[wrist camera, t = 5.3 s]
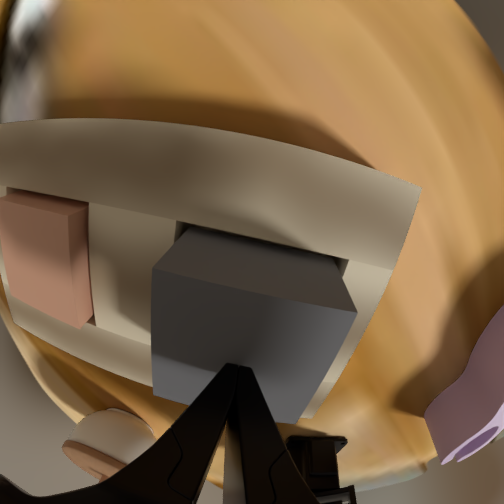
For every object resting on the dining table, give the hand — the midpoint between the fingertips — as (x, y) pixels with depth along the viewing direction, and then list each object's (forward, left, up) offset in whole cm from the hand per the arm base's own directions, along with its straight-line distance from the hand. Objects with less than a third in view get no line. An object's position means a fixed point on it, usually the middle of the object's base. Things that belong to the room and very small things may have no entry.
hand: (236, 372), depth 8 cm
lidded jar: (-23, +10, -8) cm, 26 cm away
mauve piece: (-4, -27, -8) cm, 28 cm away
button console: (0, +6, -8) cm, 10 cm away
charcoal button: (0, 0, -4) cm, 4 cm away
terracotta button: (0, +11, -6) cm, 13 cm away
